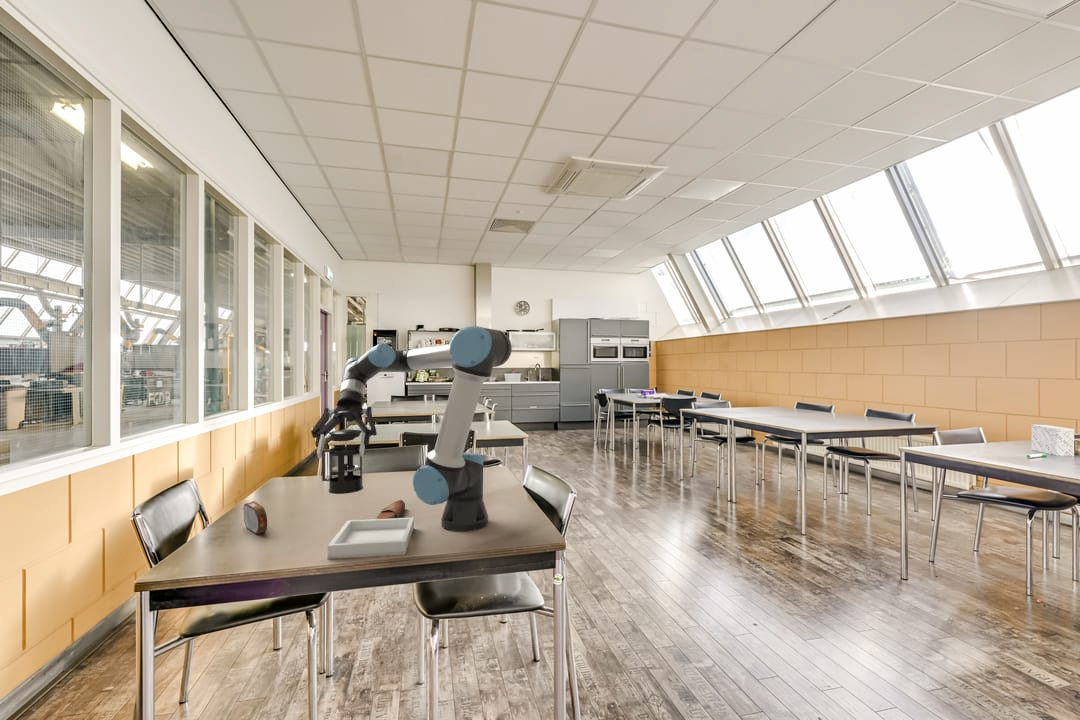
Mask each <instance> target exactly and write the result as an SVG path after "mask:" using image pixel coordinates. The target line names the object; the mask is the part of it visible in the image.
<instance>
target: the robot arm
mask: <svg viewBox="0 0 1080 720" xmlns="http://www.w3.org/2000/svg"><path fill="white" fill-rule="evenodd" d="M512 346H513V345H512V341H511V339H510V338H509V337H508V335H507V334H505V333H504V332H503V331H501V330H499V329H495V328H494V329H492V328H488V327H483V326H477V325H476V326H475V325H473V326H469V325H468V326H465V327H462V328H461V329H459V330H458V331H457V332H456V333H454V334H453V336H452V338H451V340H450V343H447V344H439V345H432V346H426V347H424V346H423V347H419V348H411V349H402V350H401V349H399V350H398V349H393V348H392V347H391V345H388V344H387V343H385V342H381V343H378V344H376V345H375V346H373V347H371V348H370V349H369V350H368V351H366V352H365V353H364V354H363V355H361V356H355V357H351V358H349V359H348V360H347V361H346V363H345V366H344V368H343V373H342V379H341V385H340V388H339V393H338V397H337V402H336V406H335V408H334V409H329V407H325V408H324V410H323V413H322V415H321V417H320V418H319V419H318V421H317V422H316V424H315V425H314V427H313V428H312V429H311V430H310V433H311V435H312V438H314V439H315V442H314V443H315V446H316V448H317V449H316V455H317V458H318V459H322V451H323V450H325V449H324V448H325V445H326V436H328V435H329V432H332V430H334V428H336V426H339V425H340V424H341V423H345V418H344V413H338V412H340V411H353V412H352V413H347V418H346V423H347V422H348V423H351V422H355V424H356V425H358V427H359V430H361V431H362V432H361V437H360V442H359V443H360V445H359V446H360V450H359V452H360V453H359V457H360V456H362V457H364V454H365V448H366V447H365V446H369V445H370V438H371V436H377V433H378V432H377V428H376V425H375V422H374V419H373V410H372V407H371V406H367V408H363V406H364V398H365V393H366V387H367V382H368V381H369V380H370V379H372V378H374V377H375V376H376V375H378V374H379V373H385V372H387V373H412V372H415V371H421V370H432V369H439V368H448V367H449V368H450V367H451V368H452V370H453V372H454V377H453V381H452V384H451V388H450V391H449V395H448V399H447V403H446V407H445V408H444V409H445V410H444V413H443V417H442V420H441V424H440V428H439V431H438V435H437V438H436V442H435V446H434V449H431V451H429V452H428V453H427V455H426V458H425V462H424V465H421V467H419V468H417V470H416V471H415V472H414V474H413V478H412V486H413V491H414V492H415V493H416V496H417V498H418V499H419V500H420V501H421V502H423V503H424V504H426V505H429V506H436V505H441V504H444V503H445V506H444V509H443V513H442V515H441V519H440V521H441V524H440V525H442V526H441V527H442V528H443V527H444V528H443V529H445V528H446V529H445V530H447V529H449V530H448V531H452V530H454V531H453V532H469V531H468V530H471V531H476V530H480V529H483V528H485V527H487V526H488V525H487V524H489V515H488V512H487V508H486V505H485V501H484V458H483V456H482V455H481V454H479V453H473V452H464V451H465V448H466V445H467V441H468V438H469V433H470V430H471V427H472V423H473V420H474V416H475V412H476V410H477V405H478V403H479V399H480V395H481V392H482V388H483V385H484V382H485V381H486V380H489V379H490V378H491V376H492V372H493V368H497V367H500V366H502V365H504V364H505V363H507V361H508V360H510V357H511V355H512V350H513V347H512ZM363 414H364V416H366V417H367V421H368V424H369V428H368V427H367V425H366V424H365V422H364V421H363V419H362V418H361V416H362V415H363ZM329 419H330V420H329ZM486 525H487V526H486ZM484 526H485V527H484ZM482 527H483V528H482ZM479 528H480V529H479ZM475 529H476V530H475Z"/></svg>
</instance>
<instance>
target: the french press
mask: <svg viewBox="0 0 1080 720" xmlns="http://www.w3.org/2000/svg"><path fill="white" fill-rule="evenodd" d="M352 412H353V411H340V412H338V413H344V418H345V422H344V429H341V430H339V429H338V430H334V431H330V432H329V433H328V435H330V441H332V442H344V446H337V447H332V448H329V449H323V451H322V457H321V473H322V474H321V476H322V478H321V480H322V482H328V483H329V484H328V485H329V487H328V493H329V494H334V495H346V494H351V493H357V492H360V491H362V490H363V489H364V485H363V456H360V452H359V450H360V445H359V446H357V445H347V442H350V441H353V440H355V439H356V438H358V437H360V435H361V434H362V433H363V431H362V430H361V429H347V422H346V418H347V413H352ZM326 452H328V465H329V466H328V468H329V469H328V471H329V472H328V475H329V476H328V478H326ZM354 455H359V464H354ZM332 456H333V457H337V466H334V467H333V465H332V464H333V460H332V459H333V457H332ZM357 471H359V475H358V474H354V472H357ZM333 473H334V474H335V473H336V474H337V476H334V477H333ZM345 473H346V474H345Z"/></svg>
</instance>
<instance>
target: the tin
mask: <svg viewBox="0 0 1080 720" xmlns="http://www.w3.org/2000/svg"><path fill="white" fill-rule="evenodd" d="M242 509H243V522H244V525H245V527H246V528H247V529H248V530H249V531H250V532H251V533H253V534H254V535H259V534H262V533H263V534H264V533H266V532H267V530H268V517H267V516H268V515H267V512H266V509H265V507H264V506H263V505H262V504H260V503H258V502H257V501H255V500H253V501H251V502H250V501H249V502H246V503H244V505H243V507H242Z"/></svg>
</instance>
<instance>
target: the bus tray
mask: <svg viewBox="0 0 1080 720" xmlns="http://www.w3.org/2000/svg"><path fill="white" fill-rule="evenodd" d="M414 528H415V517H401V518H391V519H376V518H374V519H372V518H371V519H351V520H349V519H348V520H346V521H345V523H344V525H342V527H341V528H340V530H338V532H337V533H336V535H335V536H334V537H333V538H332V540H331V541H330V542H329V544H328V545H327V560H333V559H334V560H336V559H351V558H353V559H354V558H370V557H371V558H372V557H386V556H388V555H389V556H404V555H405V554H406V555H407V551H408V549H407V548H409V545H410V542H411V539H412V535H413V533H414V530H415V529H414ZM413 529H414V530H413ZM412 532H413V533H412ZM389 556H388V557H389Z"/></svg>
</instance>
